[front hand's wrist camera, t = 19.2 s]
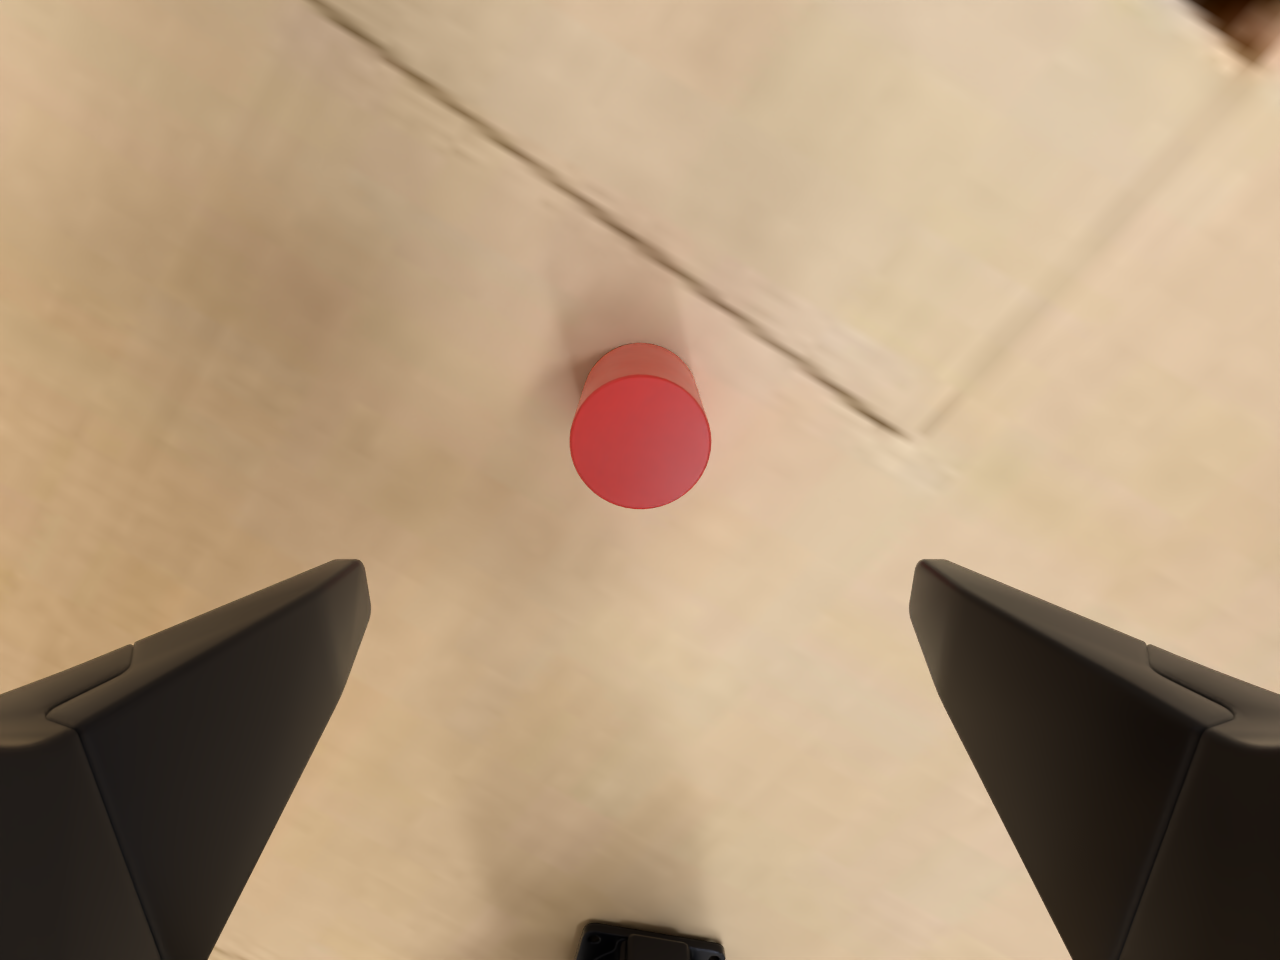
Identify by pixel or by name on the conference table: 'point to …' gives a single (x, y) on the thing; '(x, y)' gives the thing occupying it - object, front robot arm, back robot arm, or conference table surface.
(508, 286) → the conference table surface
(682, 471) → the can
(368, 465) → the conference table surface
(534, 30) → the conference table surface
